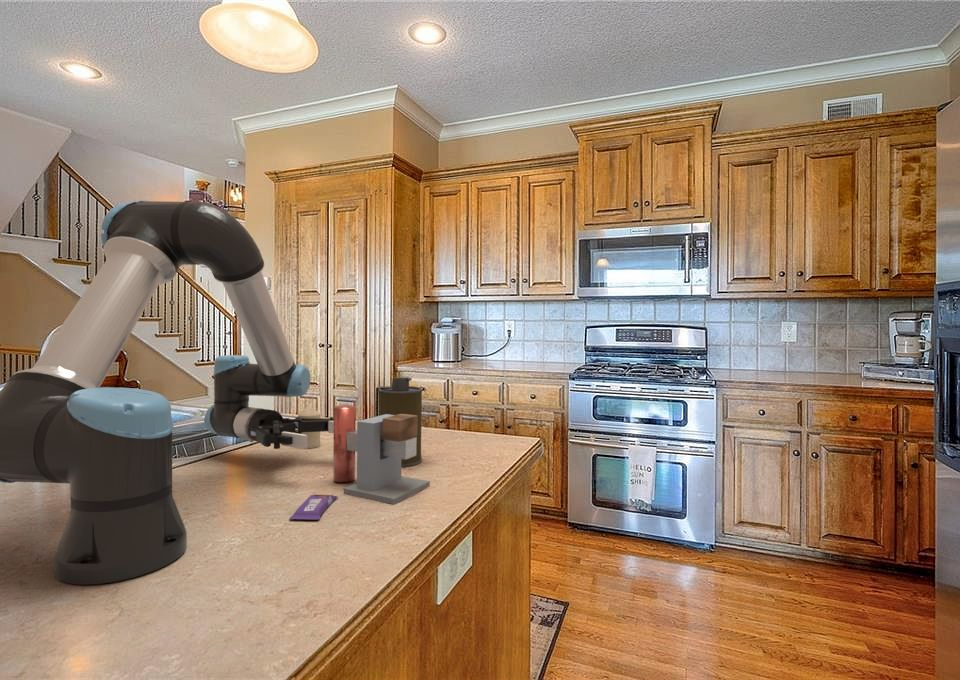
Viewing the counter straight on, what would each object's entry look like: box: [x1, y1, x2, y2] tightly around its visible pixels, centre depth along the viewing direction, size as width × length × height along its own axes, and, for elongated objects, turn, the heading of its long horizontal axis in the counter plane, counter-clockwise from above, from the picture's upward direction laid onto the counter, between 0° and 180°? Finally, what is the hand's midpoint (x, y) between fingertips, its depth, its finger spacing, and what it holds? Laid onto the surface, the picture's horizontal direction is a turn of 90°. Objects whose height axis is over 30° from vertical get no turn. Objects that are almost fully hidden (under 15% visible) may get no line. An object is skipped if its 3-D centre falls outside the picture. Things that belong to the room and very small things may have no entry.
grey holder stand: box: [343, 414, 431, 505], centre depth 102 cm, size 12×12×14 cm
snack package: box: [289, 494, 339, 521], centre depth 92 cm, size 12×2×5 cm
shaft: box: [332, 404, 417, 483], centre depth 104 cm, size 4×19×15 cm, turn 63°
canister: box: [375, 376, 423, 468], centre depth 123 cm, size 11×10×20 cm
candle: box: [297, 407, 321, 450], centre depth 136 cm, size 6×6×10 cm
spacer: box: [382, 414, 418, 442], centre depth 101 cm, size 6×4×4 cm, turn 153°
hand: (330, 435), depth 110 cm, fingers open, 13 cm apart
